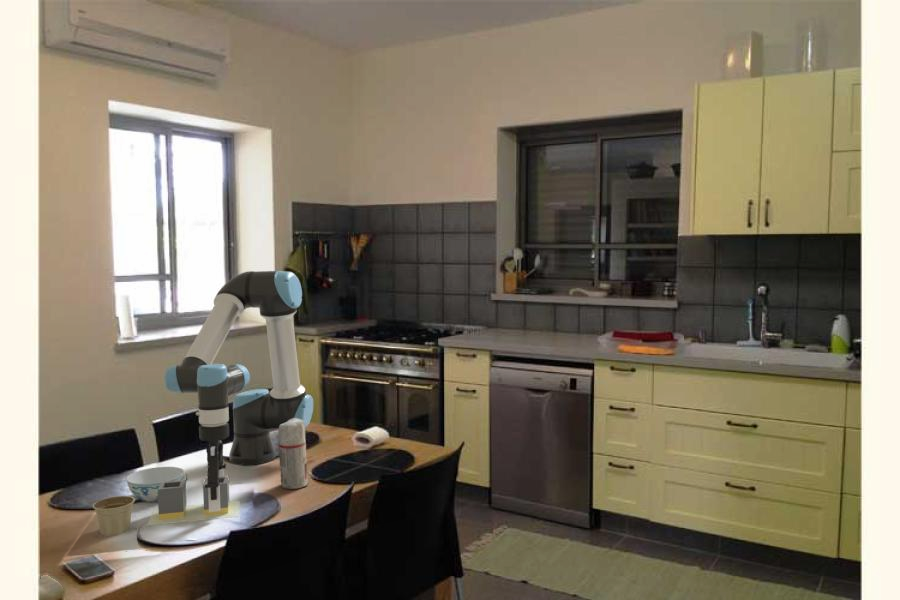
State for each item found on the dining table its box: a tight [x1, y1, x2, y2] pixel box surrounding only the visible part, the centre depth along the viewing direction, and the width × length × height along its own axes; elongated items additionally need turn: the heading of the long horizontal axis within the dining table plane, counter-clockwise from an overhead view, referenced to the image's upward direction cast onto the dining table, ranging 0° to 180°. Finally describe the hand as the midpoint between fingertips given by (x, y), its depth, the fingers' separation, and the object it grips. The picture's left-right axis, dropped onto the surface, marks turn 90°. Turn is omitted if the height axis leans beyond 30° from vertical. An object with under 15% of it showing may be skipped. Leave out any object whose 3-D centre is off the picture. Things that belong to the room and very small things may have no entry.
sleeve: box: [202, 475, 231, 515], centre depth 184 cm, size 6×6×8 cm
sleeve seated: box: [157, 479, 188, 520], centre depth 181 cm, size 6×6×8 cm
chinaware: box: [125, 466, 185, 503], centre depth 195 cm, size 15×15×8 cm
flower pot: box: [92, 495, 136, 537], centre depth 171 cm, size 9×9×9 cm
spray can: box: [277, 418, 309, 490], centre depth 207 cm, size 8×8×20 cm
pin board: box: [146, 500, 241, 527], centre depth 183 cm, size 12×22×6 cm, turn 104°
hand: (216, 502), depth 184 cm, fingers open, 13 cm apart
